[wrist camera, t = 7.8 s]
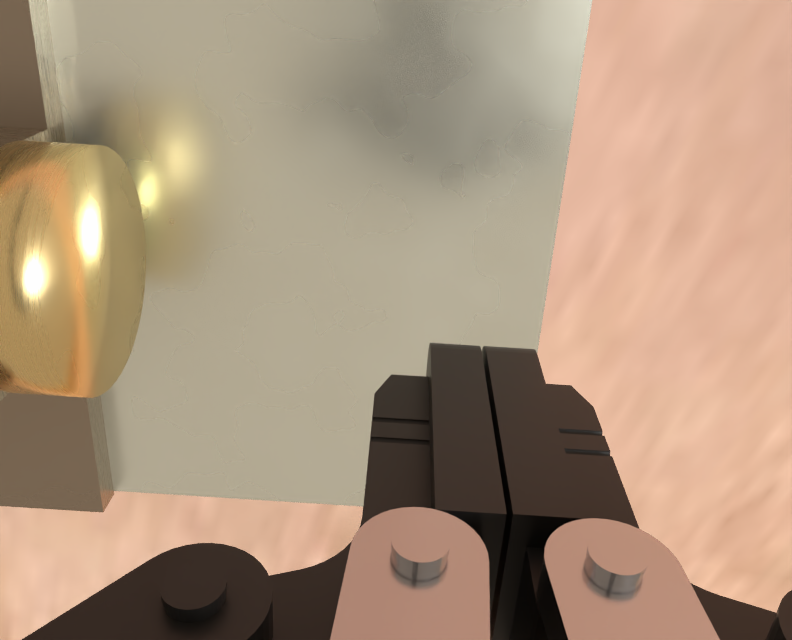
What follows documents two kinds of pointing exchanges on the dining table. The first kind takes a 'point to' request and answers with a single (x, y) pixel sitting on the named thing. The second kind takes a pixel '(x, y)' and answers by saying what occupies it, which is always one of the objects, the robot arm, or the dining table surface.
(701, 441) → the dining table surface
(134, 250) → the hinge pin
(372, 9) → the hinge
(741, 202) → the dining table surface
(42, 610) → the dining table surface
